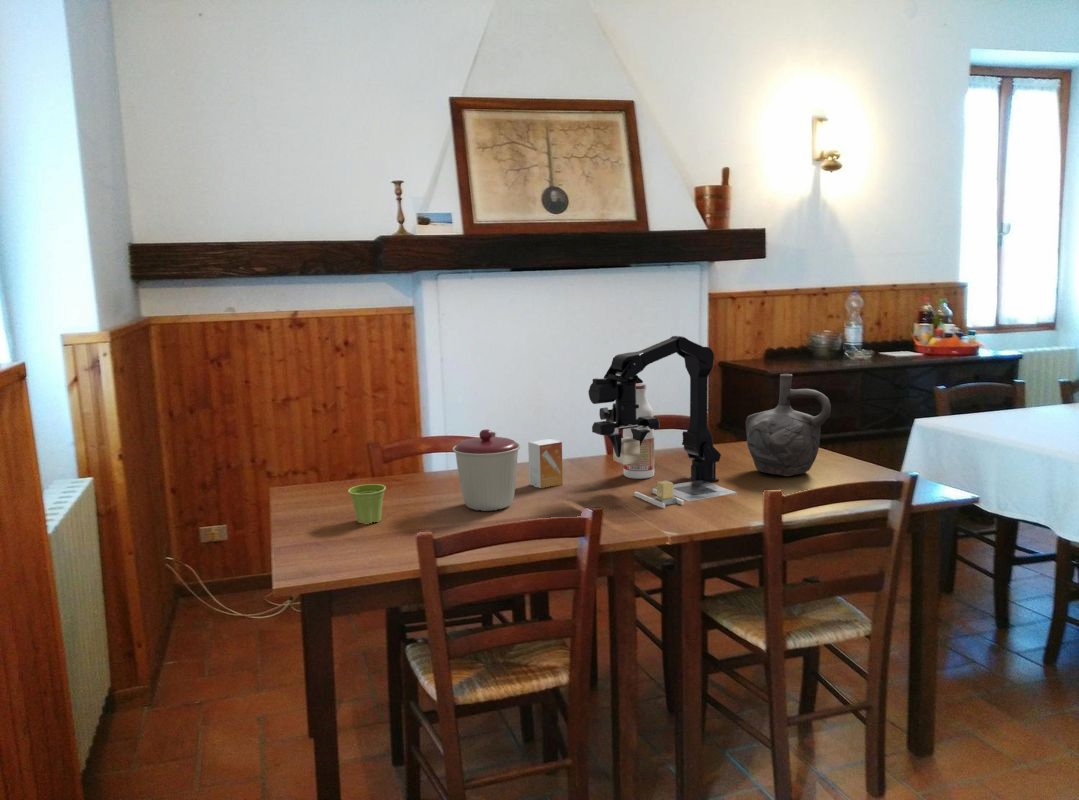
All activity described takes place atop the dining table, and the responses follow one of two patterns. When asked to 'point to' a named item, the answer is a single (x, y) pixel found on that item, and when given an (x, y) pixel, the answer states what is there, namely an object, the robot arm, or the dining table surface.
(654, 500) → the rail
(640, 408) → the fruit juice
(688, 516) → the dining table surface
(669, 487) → the lever
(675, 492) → the plate
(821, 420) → the vessel
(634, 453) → the block
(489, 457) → the canister
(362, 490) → the plant pot
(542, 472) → the small box
